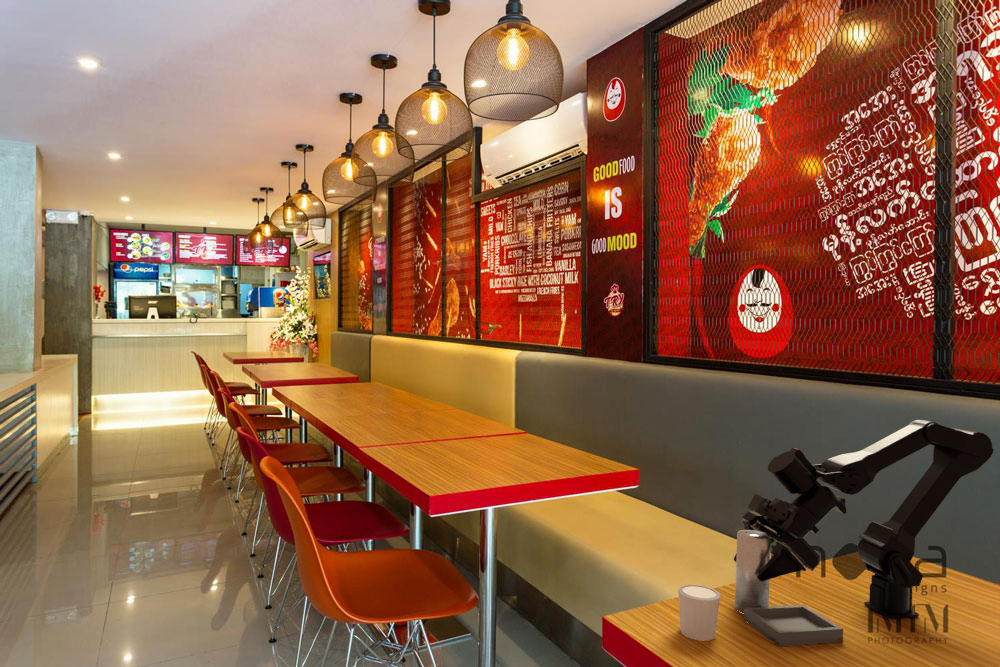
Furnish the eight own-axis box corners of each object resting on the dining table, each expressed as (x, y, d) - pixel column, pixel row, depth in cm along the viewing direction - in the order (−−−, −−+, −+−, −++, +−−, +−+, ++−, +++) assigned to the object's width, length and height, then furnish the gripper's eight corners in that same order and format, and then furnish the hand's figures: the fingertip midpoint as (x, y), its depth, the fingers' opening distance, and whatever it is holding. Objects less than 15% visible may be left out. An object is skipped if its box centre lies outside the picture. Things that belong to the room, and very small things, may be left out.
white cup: (722, 645, 104) (723, 601, 104) (678, 639, 106) (679, 596, 106) (716, 627, 111) (717, 586, 111) (675, 622, 112) (676, 582, 113)
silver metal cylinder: (756, 603, 122) (758, 529, 122) (775, 616, 117) (777, 538, 117) (728, 604, 121) (731, 530, 121) (746, 617, 115) (749, 539, 116)
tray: (803, 617, 117) (803, 604, 117) (842, 642, 107) (843, 628, 107) (744, 620, 114) (744, 608, 114) (778, 646, 105) (779, 632, 105)
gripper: (753, 470, 129) (698, 524, 128) (805, 492, 110) (741, 555, 109) (789, 510, 129) (734, 564, 128) (847, 538, 111) (783, 602, 110)
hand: (746, 570), depth 119 cm, fingers open, 9 cm apart
